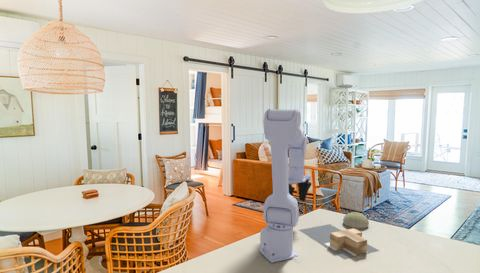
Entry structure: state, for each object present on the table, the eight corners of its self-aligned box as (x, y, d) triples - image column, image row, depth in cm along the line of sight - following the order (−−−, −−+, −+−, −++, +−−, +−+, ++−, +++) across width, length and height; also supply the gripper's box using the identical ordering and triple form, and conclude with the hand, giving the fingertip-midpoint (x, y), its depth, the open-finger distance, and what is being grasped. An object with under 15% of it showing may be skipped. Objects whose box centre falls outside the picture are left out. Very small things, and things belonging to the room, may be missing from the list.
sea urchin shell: (337, 221, 113) (344, 203, 117) (343, 231, 118) (350, 214, 121) (361, 228, 107) (368, 209, 110) (367, 239, 111) (373, 220, 115)
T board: (344, 260, 88) (344, 259, 87) (298, 231, 109) (298, 229, 108) (379, 252, 93) (379, 250, 93) (329, 225, 114) (329, 224, 114)
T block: (349, 256, 89) (349, 244, 88) (329, 244, 97) (330, 233, 96) (373, 250, 93) (374, 238, 92) (353, 239, 101) (354, 228, 100)
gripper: (291, 170, 103) (290, 209, 104) (317, 165, 112) (316, 201, 113) (276, 167, 108) (275, 204, 110) (302, 163, 117) (301, 197, 119)
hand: (295, 202), depth 112 cm, fingers open, 7 cm apart
